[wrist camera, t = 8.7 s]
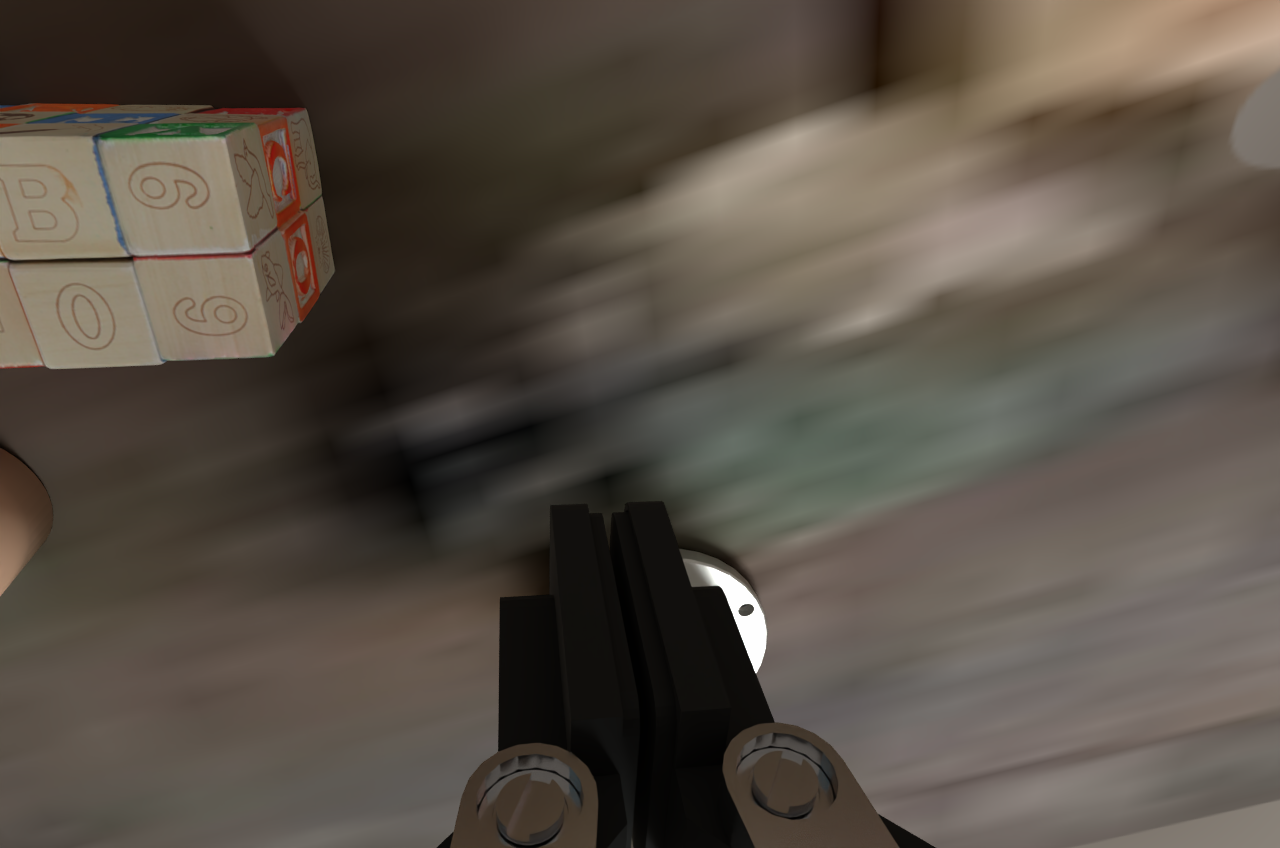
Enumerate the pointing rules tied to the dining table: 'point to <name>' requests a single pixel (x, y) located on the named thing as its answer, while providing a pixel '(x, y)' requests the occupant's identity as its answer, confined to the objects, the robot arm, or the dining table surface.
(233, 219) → the stack of blocks
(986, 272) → the dining table surface
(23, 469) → the tan rounded lump
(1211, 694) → the dining table surface
